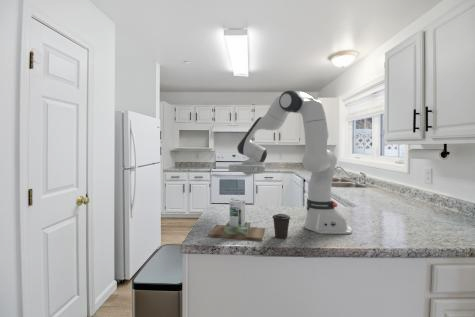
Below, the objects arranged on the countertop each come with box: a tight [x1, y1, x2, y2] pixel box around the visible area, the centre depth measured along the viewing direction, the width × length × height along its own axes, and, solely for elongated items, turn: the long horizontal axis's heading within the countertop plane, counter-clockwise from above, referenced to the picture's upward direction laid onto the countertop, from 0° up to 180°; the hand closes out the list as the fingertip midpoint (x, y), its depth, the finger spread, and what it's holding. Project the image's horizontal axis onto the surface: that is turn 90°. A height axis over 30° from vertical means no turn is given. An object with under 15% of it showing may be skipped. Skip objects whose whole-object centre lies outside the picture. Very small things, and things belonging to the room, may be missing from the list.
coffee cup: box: [272, 213, 291, 240], centre depth 121 cm, size 8×8×10 cm
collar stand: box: [208, 220, 266, 242], centre depth 125 cm, size 24×14×4 cm, turn 79°
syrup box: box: [229, 198, 246, 228], centre depth 125 cm, size 6×6×14 cm
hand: (244, 169), depth 142 cm, fingers open, 8 cm apart
